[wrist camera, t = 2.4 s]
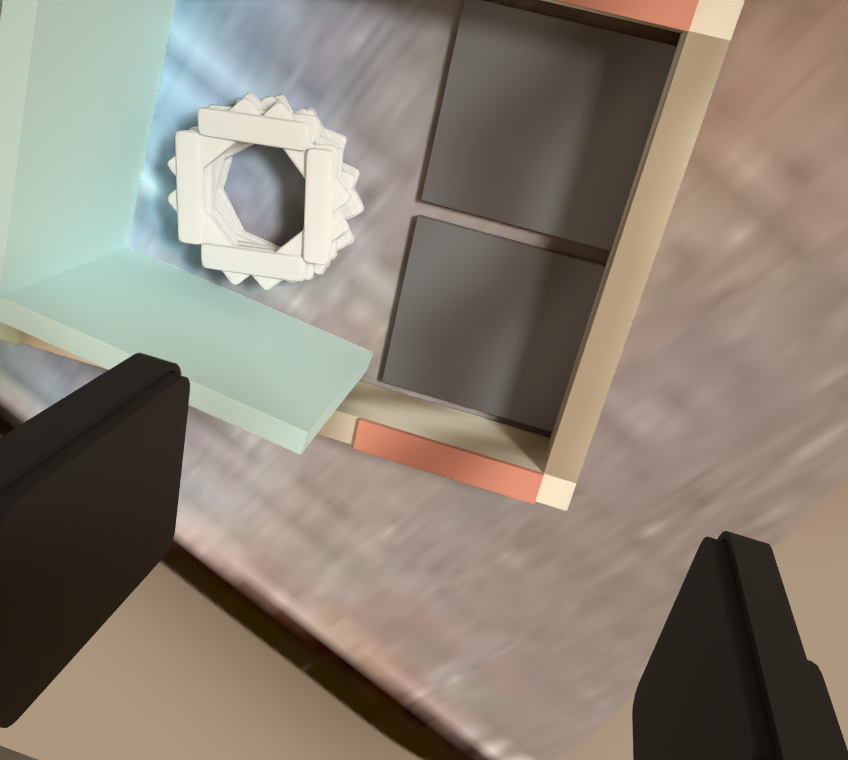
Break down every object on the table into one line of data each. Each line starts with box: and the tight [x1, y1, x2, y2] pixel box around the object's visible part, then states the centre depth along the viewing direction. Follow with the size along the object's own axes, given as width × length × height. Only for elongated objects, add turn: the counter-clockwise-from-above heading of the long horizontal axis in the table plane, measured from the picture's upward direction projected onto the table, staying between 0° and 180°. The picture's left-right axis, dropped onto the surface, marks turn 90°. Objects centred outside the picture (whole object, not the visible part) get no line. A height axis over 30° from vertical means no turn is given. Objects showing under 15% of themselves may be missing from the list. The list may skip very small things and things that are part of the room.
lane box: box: [0, 0, 745, 511], centre depth 28 cm, size 32×17×5 cm, turn 78°
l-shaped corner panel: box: [0, 0, 373, 455], centre depth 27 cm, size 12×12×8 cm
